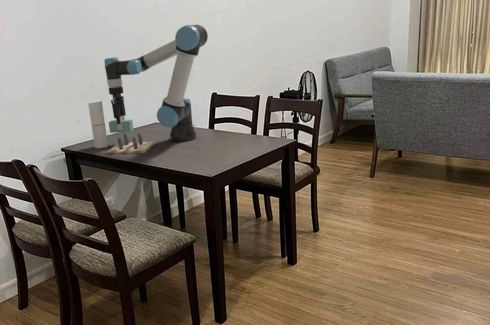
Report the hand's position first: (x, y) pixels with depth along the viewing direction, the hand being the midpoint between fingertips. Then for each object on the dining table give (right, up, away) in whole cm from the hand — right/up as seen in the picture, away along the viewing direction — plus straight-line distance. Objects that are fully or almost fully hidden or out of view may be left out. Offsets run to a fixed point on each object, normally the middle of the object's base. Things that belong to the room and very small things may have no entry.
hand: (122, 128), depth 273 cm
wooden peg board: (+8, -12, -10) cm, 17 cm away
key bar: (0, -2, 0) cm, 2 cm away
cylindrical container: (-11, -10, -1) cm, 15 cm away
